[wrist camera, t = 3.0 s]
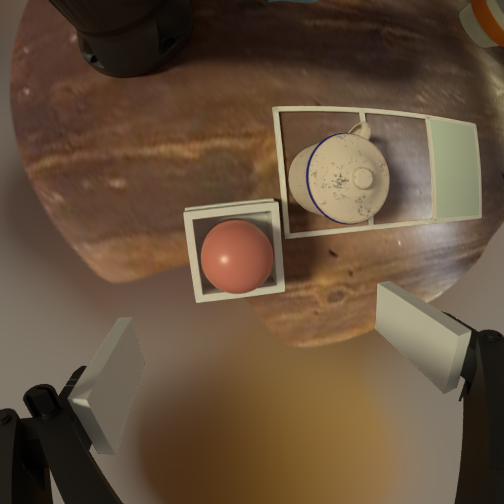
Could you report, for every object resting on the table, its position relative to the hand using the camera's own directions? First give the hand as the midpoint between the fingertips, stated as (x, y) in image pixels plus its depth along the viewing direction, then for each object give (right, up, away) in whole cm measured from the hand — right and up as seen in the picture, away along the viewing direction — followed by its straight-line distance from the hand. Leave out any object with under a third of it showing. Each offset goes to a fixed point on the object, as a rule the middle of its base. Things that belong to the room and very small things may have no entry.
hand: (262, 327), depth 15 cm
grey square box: (-3, +5, +22) cm, 23 cm away
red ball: (-2, +4, +18) cm, 19 cm away
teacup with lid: (+9, +14, +22) cm, 27 cm away
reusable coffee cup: (+43, +47, +18) cm, 67 cm away
